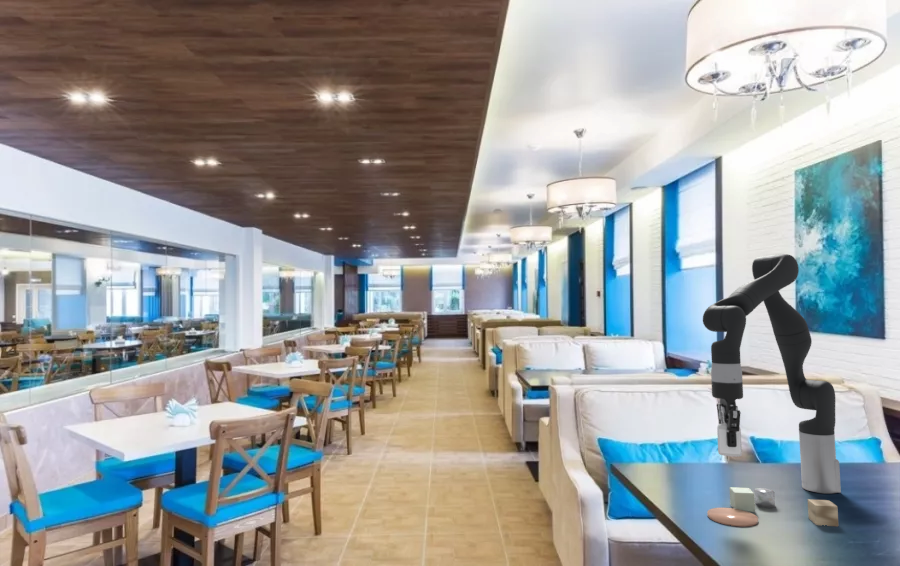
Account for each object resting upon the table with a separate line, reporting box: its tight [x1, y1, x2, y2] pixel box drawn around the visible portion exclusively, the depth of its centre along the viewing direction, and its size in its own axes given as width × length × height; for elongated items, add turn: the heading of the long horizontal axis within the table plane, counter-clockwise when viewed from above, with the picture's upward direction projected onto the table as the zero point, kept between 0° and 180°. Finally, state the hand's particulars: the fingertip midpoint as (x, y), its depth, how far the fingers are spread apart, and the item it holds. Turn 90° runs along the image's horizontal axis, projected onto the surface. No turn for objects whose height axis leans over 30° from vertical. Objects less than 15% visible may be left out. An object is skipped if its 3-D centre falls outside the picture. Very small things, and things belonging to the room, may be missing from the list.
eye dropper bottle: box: [716, 419, 743, 457], centre depth 149 cm, size 4×6×12 cm
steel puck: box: [753, 487, 776, 509], centre depth 158 cm, size 5×5×4 cm
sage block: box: [729, 486, 756, 513], centre depth 156 cm, size 5×5×5 cm
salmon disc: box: [706, 507, 759, 528], centre depth 148 cm, size 12×12×1 cm
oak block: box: [807, 498, 839, 527], centre depth 144 cm, size 5×5×5 cm
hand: (729, 444), depth 149 cm, fingers closed on eye dropper bottle, 3 cm apart
